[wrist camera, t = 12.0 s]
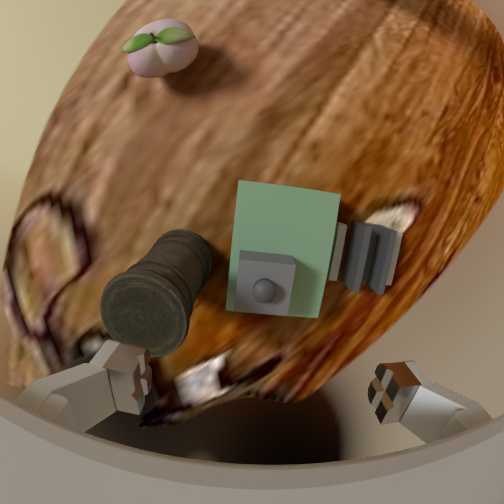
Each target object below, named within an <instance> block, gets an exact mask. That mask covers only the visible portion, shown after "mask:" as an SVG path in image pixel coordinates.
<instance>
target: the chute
mask: <svg viewBox="0 0 504 504" xmlns="http://www.w3.org/2000/svg"><path fill="white" fill-rule="evenodd" d="M396 236H397V231H395V230H392V229H390V228H387V227H385V226H382V225H377V224H370V223H364V222H358V221H352V226H351V232H350V237H349V243H348V248H347V254H346V259H345V264H344V269H343V274H342V278H341V280H342V282H343V283H344V284H345V285H346V286H347V287H348V288H349V289H350V290H351V292H356V293H359V289H360V285H361V284H367V285H368V286H369V287H370V288H372V289H373V290H374V291H375V292H376V293H377V294H383V293H384V289H385V285H386V281H387V277H388V273H389V269H390V265H391V260H392V256H393V251H394V246H395V241H396Z"/></svg>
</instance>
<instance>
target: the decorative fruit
mask: <svg viewBox="0 0 504 504" xmlns="http://www.w3.org/2000/svg"><path fill="white" fill-rule="evenodd" d="M121 52H128V62H129V65H130V67H131V69H132V71H133V72H134V73H135V74H136V75H138V76H140V77H144V78H156V77H162V76H164V75H166V74H168V73H175V72H178V71H180V70H182V69H184V68H186V67H187V66H188V65H190V64H191V63H192V62H193V60H194V59H195V58H196V56H197V53H198V43H197V40H196V37H195V35H194V34H193V32H192V30H191V29H190V27H189V26H188V25H187V24H185V23H184V22H182V21H179V20H175V19H162V20H158V21H155V22H152V23H149V24H147V25H145V26H144V27H142V28H141V29H140V30H138V32H137V33H136V34H135V35H134V36H133V38H131V39H130V40H129V41H128V42H127V43H126V44H125V45H124V47H123V49H122V51H121Z"/></svg>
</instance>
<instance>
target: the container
mask: <svg viewBox="0 0 504 504" xmlns="http://www.w3.org/2000/svg"><path fill="white" fill-rule="evenodd" d="M211 270H212V257H211V253H210V251H209V248H208V247H207V245H206V244H205V242H204V241H203V240H202V239H201V238H200V237H198V236H197V235H196V234H194V233H192V232H189V231H186V230H181V229H177V230H171V231H169V232H167V233H165V234H163V235H162V236H161V237H160V238H159V239H158V240H157V241H156V243H155V244H154V245H153V247H152V248H151V250H150V251H149V252H148V254H147V255H146V256H144V257H143V258H142V259H141V260H140V261H138V262H137V263H136V264H134V265H132V266H131V267H130V268H129V269H128V270H127V271H126V272H123V273H120V274H118V275H117V276H115V277H114V278H113V279H111V280H110V281H109V283H108V284H107V285H106V287H105V289H104V291H103V294H102V297H101V302H100V311H101V317H102V320H103V323H104V326H105V328H106V329H107V331H108V333H109V334H110V335H111V337H112V338H113V339H114V340H115V341H118V342H121V343H127V344H131V345H136V346H140V347H145V348H148V349H149V350H150V357H159V356H163V355H166V354H169V353H171V352H172V351H174V350H175V349H177V348H178V347H179V346H180V345H181V344H182V342H183V341H184V340H185V338H186V336H187V333H188V330H189V324H190V316H191V314H192V311H193V305H194V303H195V300H196V297H197V295H198V293H199V292H200V290H201V288H202V287H203V286H204V284H205V283H206V281H207V280H208V278H209V276H210V274H211Z"/></svg>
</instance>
